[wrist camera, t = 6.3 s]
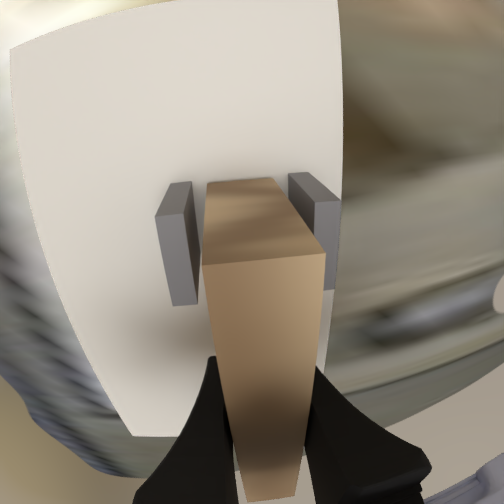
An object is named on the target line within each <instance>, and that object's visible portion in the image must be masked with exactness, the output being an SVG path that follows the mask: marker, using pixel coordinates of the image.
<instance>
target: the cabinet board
mask: <svg viewBox="0 0 504 504" xmlns="http://www.w3.org/2000/svg"><path fill="white" fill-rule="evenodd" d="M10 77H11V93H12V105H13V115H14V123H15V131H16V138H17V144H18V150H19V156H20V162H21V167H22V172H23V177H24V182H25V186H26V190H27V195H28V199H29V203H30V207H31V211H32V215H33V218H34V222H35V225H36V229H37V232H38V236H39V239H40V242H41V245H42V249H43V252H44V255H45V258H46V261H47V264H48V266H49V269H50V272H51V275H52V278H53V280H54V283H55V286H56V288H57V291H58V293H59V296H60V298H61V301H62V303H63V306H64V308H65V311H66V313H67V315H68V318H69V320H70V322H71V324H72V327H73V329H74V331H75V333H76V336H77V338H78V340H79V342H80V344H81V346H82V348H83V350H84V352H85V354H86V356H87V358H88V360H89V362H90V364H91V366H92V368H93V370H94V372H95V374H96V375H97V377H98V379H99V381H100V383H101V385H102V386H103V388H104V390H105V392H106V393H107V395H108V397H109V399H110V400H111V402H112V404H113V405H114V407H115V409H116V410H117V412H118V414H119V415H120V417H121V418H122V420H123V422H124V423H125V425H126V426H127V428H128V429H129V431H130V432H131V434H132V435H133V436H179V435H180V433H181V431H182V429H183V427H184V425H185V424H186V422H187V420H188V417H189V415H190V413H191V411H192V408H193V406H194V404H195V402H196V399H197V396H198V393H199V391H200V388H201V385H202V382H203V379H204V375H205V371H206V367H207V361H208V358H209V357H210V356H216V352H215V347H214V341H213V335H212V330H211V324H210V318H209V312H208V305H207V299H206V293H205V286H204V280H203V273H202V266H201V264H202V246H203V230H204V215H205V201H206V189H207V183H218V182H228V181H240V180H253V179H266V178H273V179H274V180H275V181H276V183H277V184H278V185H279V187H280V188H281V190H282V191H283V192H284V194H285V195H286V197H287V198H288V199H289V201H290V202H291V204H292V205H293V206H294V208H295V209H296V211H297V212H298V213H299V215H300V216H301V218H302V219H303V221H304V222H305V223H306V225H307V226H308V228H309V229H310V231H311V232H312V234H313V235H314V236H315V238H316V239H317V241H318V242H319V244H320V245H321V247H322V248H323V250H324V251H325V253H326V259H325V274H324V287H323V299H322V311H321V321H320V331H319V340H318V350H317V358H316V366H317V367H318V368H319V370H320V371H321V372H322V373H323V372H324V366H325V359H326V352H327V345H328V338H329V330H330V322H331V314H332V306H333V297H334V289H335V282H336V272H337V260H338V248H339V235H340V220H341V202H342V201H341V190H342V159H343V91H342V62H341V43H340V28H339V15H338V3H337V0H177V1H170V2H164V3H158V4H152V5H146V6H141V7H136V8H132V9H127V10H123V11H118V12H114V13H110V14H106V15H103V16H99V17H96V18H92V19H89V20H85V21H82V22H79V23H76V24H73V25H70V26H67V27H64V28H61V29H58V30H55V31H53V32H50V33H47V34H45V35H42V36H40V37H37V38H35V39H33V40H30V41H28V42H26V43H23V44H21V45H19V46H17V47H14V48H12V49H10ZM303 449H305V448H303Z"/></svg>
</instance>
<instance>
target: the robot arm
mask: <svg viewBox="0 0 504 504" xmlns="http://www.w3.org/2000/svg"><path fill="white" fill-rule="evenodd" d="M304 448H305V451H306V455H307V460H308V464H309V469H310V474H311V480H312V485H313V490H314V496H315V501H316V504H504V453H501V454H500V455H498V456H497V457H495V458H494V459H492V460H491V461H489V462H488V463H486V464H485V465H484V466H482V467H481V468H480V469H479V470H477V472H476V473H475V474H473V475H472V476H470V477H468V478H466V479H464V480H462V481H460V482H459V483H457V484H455V485H453V486H451V487H449V488H447V489H445V490H443V491H441V492H439V493H437V494H435V495H433V496H431V497H428V498H426V499H424V500H423V498H422V496H421V494H420V492H421V491H422V487H421V485H420V482H421V481H422V480H423V479H424V478H425V477H426V476H427V475H428V474H429V473H430V472H431V469H432V466H431V464H430V462H429V460H428V458H427V457H426V455H425V454H424V452H423V451H422V449H421V448H418V447H416V446H414V445H412V444H410V443H408V442H406V441H404V440H402V439H400V438H398V437H397V436H395V435H393V434H391V433H390V432H388V431H387V430H385V429H384V428H382V427H381V426H379V425H378V424H376V423H375V422H373V421H372V420H370V419H369V418H368V417H367V416H365V415H364V414H363V413H361V412H360V411H359V410H358V409H357V408H355V407H354V406H353V405H352V404H351V403H350V402H349V401H348V400H347V399H346V398H345V397H344V396H343V395H342V394H341V393H340V392H339V391H338V390H337V389H336V388H335V387H334V386H333V385H332V384H331V383H330V382H329V380H328V379H327V378H326V377H325V376H324V375H323V373H322V372H321V371H320V370H319V368H318V367H317V366H315V374H314V382H313V389H312V397H311V404H310V410H309V417H308V423H307V430H306V436H305V442H304ZM132 504H239V503H238V495H237V487H236V479H235V471H234V462H233V438H232V434H231V429H230V424H229V420H228V415H227V410H226V405H225V400H224V395H223V390H222V385H221V379H220V374H219V369H218V363H217V358H216V356H210V357H209V358H208V361H207V367H206V371H205V375H204V379H203V382H202V385H201V388H200V391H199V393H198V396H197V399H196V402H195V404H194V406H193V408H192V411H191V413H190V415H189V417H188V420H187V422H186V424H185V425H184V427H183V429H182V431H181V433H180V435H179V436H178V438H177V440H176V441H175V443H174V445H173V446H172V448H171V449H170V451H169V452H168V454H167V455H166V457H165V458H164V459H163V461H162V462H161V463H160V465H159V466H158V467H157V468H156V470H155V471H154V472H153V473H152V475H151V476H150V477H149V478H148V479H147V480H146V481H145V482H144V484H143V485H142V486H141V487H140V488H139V489H138V490H137V491H136V493H135V496H134V499H133V503H132Z"/></svg>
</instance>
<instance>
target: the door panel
mask: <svg viewBox="0 0 504 504" xmlns="http://www.w3.org/2000/svg"><path fill="white" fill-rule="evenodd" d="M325 259H326V253H325V251H324V250H323V248H322V247H321V245H320V244H319V242H318V241H317V239H316V238H315V236H314V235H313V234H312V232H311V231H310V229H309V228H308V226H307V225H306V223H305V222H304V221H303V219H302V218H301V216H300V215H299V213H298V212H297V211H296V209H295V208H294V206H293V205H292V204H291V202H290V201H289V199H288V198H287V197H286V195H285V194H284V192H283V191H282V190H281V188H280V187H279V185H278V184H277V183H276V181H275V180H274V179H273V178H266V179H253V180H240V181H228V182H218V183H207V189H206V201H205V215H204V230H203V246H202V264H201V266H202V273H203V280H204V286H205V293H206V299H207V305H208V312H209V318H210V324H211V330H212V335H213V341H214V347H215V352H216V358H217V363H218V369H219V374H220V379H221V385H222V390H223V395H224V400H225V405H226V410H227V415H228V420H229V424H230V429H231V434H232V438H233V443H234V447H235V452H236V456H237V461H238V465H239V469H240V474H241V477H242V482H243V486H244V490H245V494H246V498H247V502H255V501H264V500H271V499H279V498H285V497H291V496H294V495H295V490H296V484H297V480H298V475H299V470H300V464H301V459H302V453H303V448H304V442H305V436H306V430H307V423H308V417H309V410H310V404H311V397H312V389H313V382H314V374H315V366H316V358H317V350H318V340H319V331H320V321H321V311H322V299H323V287H324V274H325Z"/></svg>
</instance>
